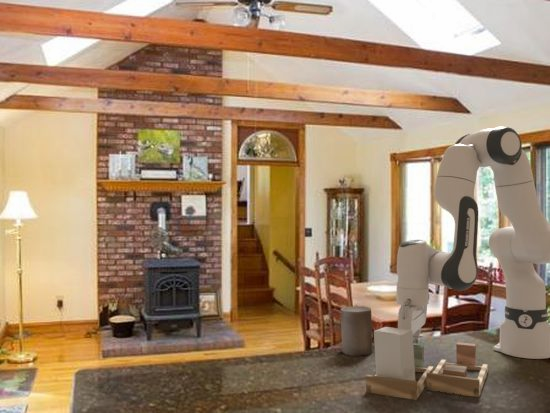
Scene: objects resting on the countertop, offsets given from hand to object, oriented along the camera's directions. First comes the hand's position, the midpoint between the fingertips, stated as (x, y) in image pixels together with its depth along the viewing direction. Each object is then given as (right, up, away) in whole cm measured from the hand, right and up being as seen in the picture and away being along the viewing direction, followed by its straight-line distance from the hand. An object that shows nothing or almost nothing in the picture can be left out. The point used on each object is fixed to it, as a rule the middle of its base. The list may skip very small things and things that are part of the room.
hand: (412, 346), depth 151 cm
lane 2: (+10, -6, -10) cm, 15 cm away
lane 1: (-5, -6, -11) cm, 13 cm away
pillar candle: (-13, -7, +17) cm, 23 cm away
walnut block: (+6, -6, -17) cm, 19 cm away
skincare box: (-9, -6, -18) cm, 21 cm away
